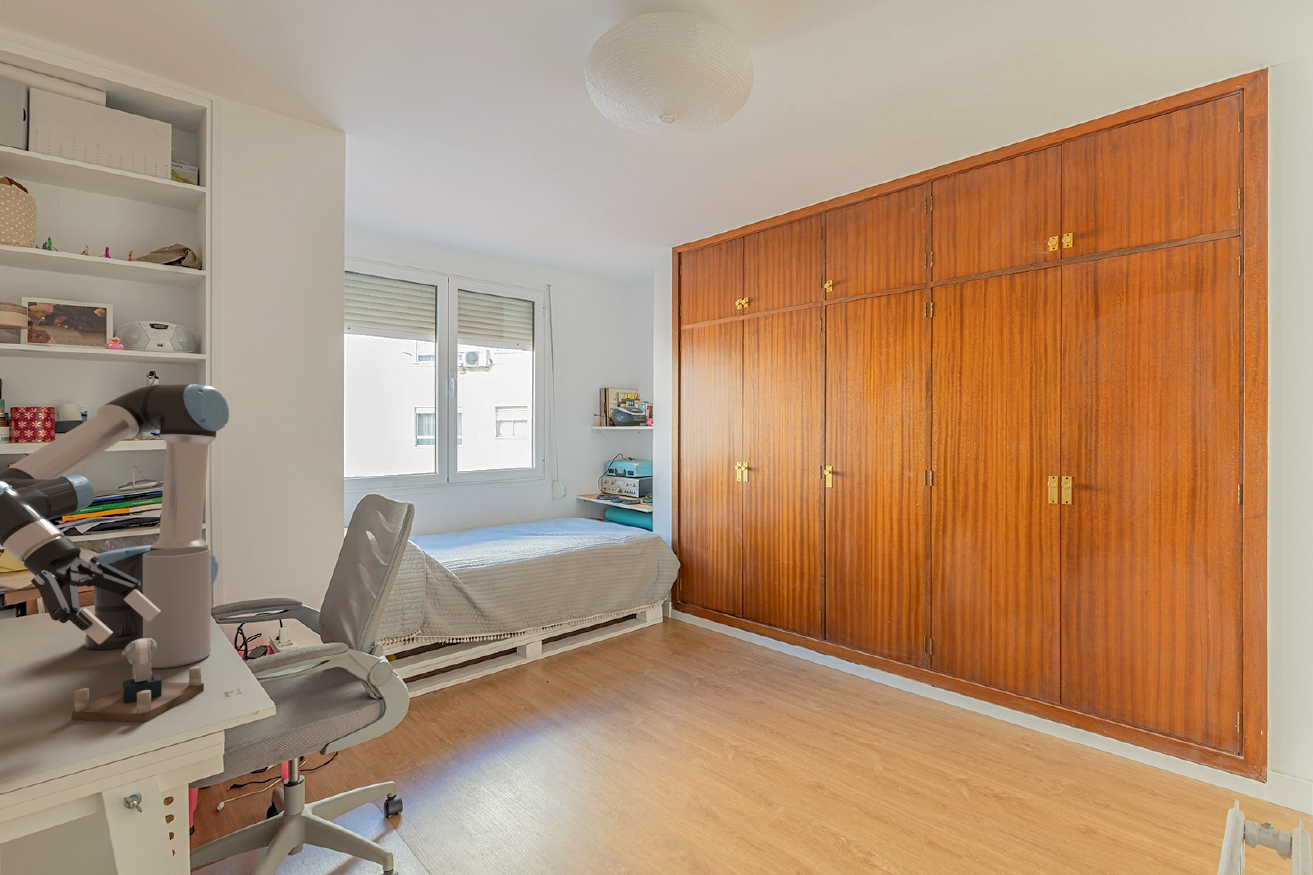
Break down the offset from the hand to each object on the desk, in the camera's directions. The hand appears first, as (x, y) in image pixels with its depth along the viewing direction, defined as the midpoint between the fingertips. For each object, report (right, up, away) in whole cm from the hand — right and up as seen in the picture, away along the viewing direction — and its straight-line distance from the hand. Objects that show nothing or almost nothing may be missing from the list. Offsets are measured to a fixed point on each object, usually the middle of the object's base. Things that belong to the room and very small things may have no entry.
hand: (131, 626), depth 122 cm
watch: (+1, -14, +1) cm, 14 cm away
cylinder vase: (-10, -15, +24) cm, 30 cm away
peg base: (+1, -15, 0) cm, 15 cm away
